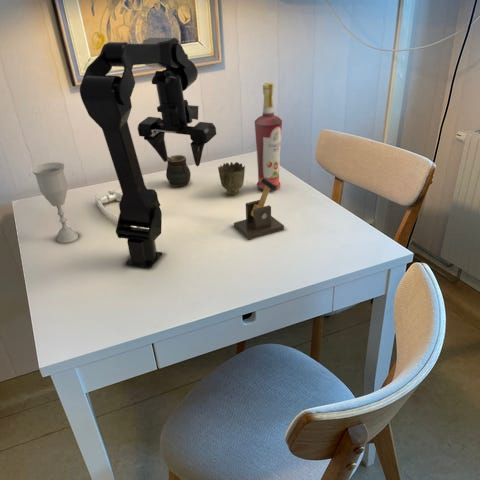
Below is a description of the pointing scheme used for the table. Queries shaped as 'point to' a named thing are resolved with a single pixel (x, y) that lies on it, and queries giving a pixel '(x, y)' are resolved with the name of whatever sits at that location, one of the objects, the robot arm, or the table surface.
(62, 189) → the chalice
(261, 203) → the lever
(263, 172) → the liquor
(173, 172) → the mate gourd
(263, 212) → the bracket
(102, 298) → the table surface
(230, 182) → the cup
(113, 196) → the door handle
